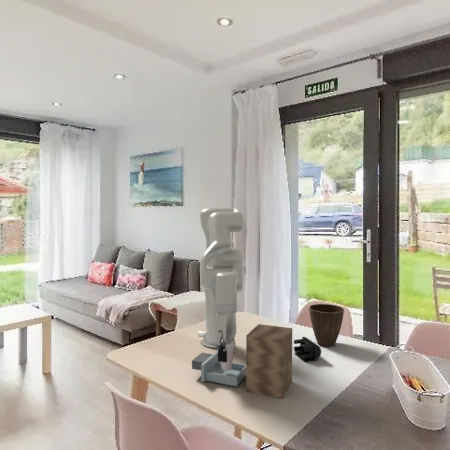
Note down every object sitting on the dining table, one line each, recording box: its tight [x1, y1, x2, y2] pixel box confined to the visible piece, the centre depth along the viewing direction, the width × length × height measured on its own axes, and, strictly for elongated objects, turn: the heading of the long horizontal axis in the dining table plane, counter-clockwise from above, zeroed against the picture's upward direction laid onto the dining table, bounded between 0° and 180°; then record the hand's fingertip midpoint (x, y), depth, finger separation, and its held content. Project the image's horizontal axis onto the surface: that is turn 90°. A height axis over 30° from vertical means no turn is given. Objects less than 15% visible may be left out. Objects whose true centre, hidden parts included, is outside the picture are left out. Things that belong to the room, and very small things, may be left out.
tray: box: [191, 350, 246, 387], centre depth 134 cm, size 18×14×6 cm
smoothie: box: [221, 339, 236, 371], centre depth 132 cm, size 6×6×14 cm
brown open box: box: [245, 323, 293, 399], centre depth 126 cm, size 12×13×19 cm
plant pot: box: [308, 303, 345, 348], centre depth 166 cm, size 15×15×16 cm
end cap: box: [293, 336, 322, 363], centre depth 151 cm, size 10×7×7 cm
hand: (226, 357), depth 133 cm, fingers closed on smoothie, 6 cm apart
